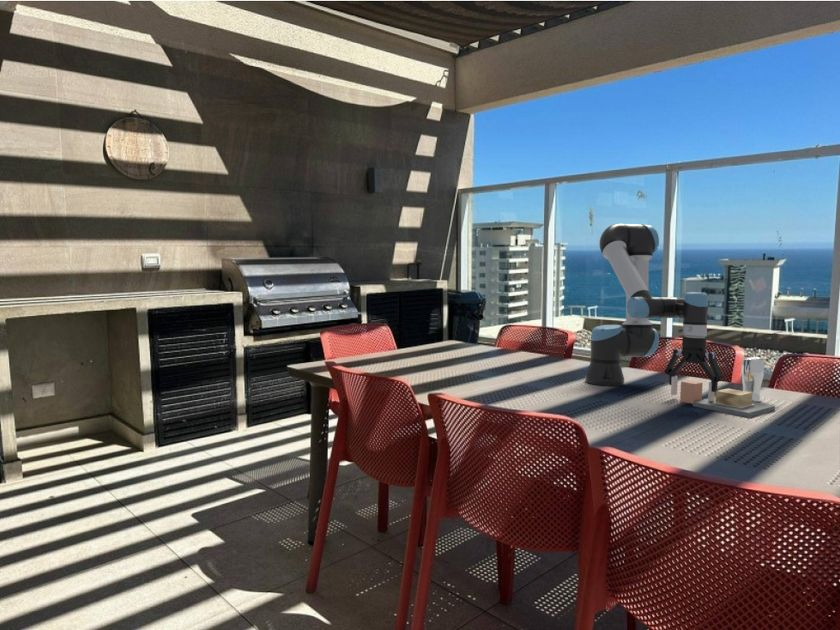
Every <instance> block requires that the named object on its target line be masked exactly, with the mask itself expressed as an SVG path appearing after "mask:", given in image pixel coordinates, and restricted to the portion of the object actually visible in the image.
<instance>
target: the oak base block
mask: <svg viewBox="0 0 840 630" xmlns="http://www.w3.org/2000/svg"><path fill="white" fill-rule="evenodd" d="M715 397H716V400H715V403H720V404H725V405H730V406H735V407H744V406H748V405H752V392H746V391H743V390H740V389H733V388H723V389H717V391H716V392H715Z"/></svg>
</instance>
